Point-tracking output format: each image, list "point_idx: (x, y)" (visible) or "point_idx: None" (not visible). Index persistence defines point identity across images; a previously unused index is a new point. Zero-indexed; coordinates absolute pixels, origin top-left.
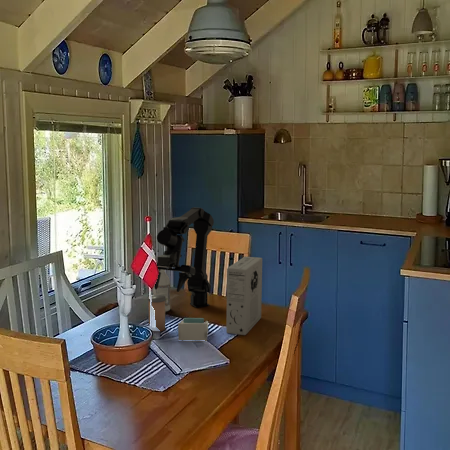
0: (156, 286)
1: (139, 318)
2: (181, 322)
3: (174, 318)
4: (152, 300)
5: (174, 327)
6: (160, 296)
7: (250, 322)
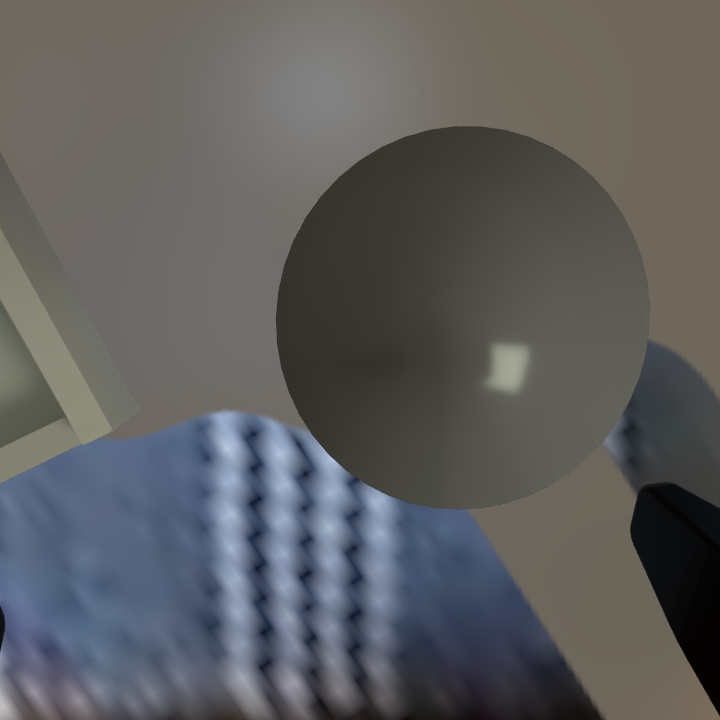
0: (677, 546)
1: (693, 483)
2: (73, 376)
3: (389, 654)
4: (449, 129)
5: (242, 432)
6: (429, 412)
7: None
